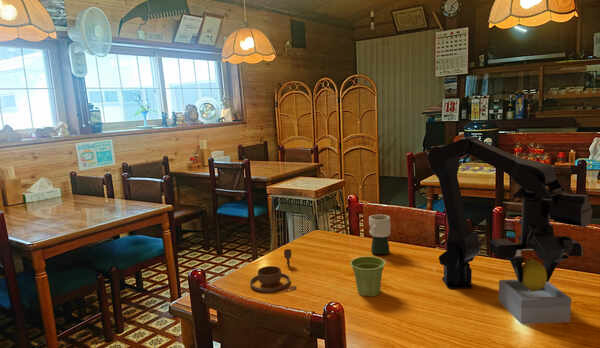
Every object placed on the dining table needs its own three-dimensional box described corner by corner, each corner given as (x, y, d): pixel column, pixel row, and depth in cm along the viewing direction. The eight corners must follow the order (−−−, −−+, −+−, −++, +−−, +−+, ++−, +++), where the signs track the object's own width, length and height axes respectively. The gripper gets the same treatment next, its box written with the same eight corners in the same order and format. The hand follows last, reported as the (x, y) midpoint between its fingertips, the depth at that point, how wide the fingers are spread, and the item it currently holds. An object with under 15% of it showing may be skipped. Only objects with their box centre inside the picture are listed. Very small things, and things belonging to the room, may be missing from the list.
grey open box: (520, 324, 93) (521, 300, 92) (498, 302, 104) (499, 280, 103) (569, 322, 92) (571, 298, 92) (542, 300, 103) (543, 278, 102)
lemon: (550, 297, 94) (551, 264, 93) (523, 296, 95) (525, 263, 94) (541, 287, 99) (542, 255, 98) (516, 286, 100) (517, 255, 99)
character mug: (376, 246, 148) (375, 212, 146) (395, 249, 144) (394, 214, 142) (364, 256, 139) (363, 220, 137) (384, 259, 135) (383, 222, 133)
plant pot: (365, 303, 106) (364, 271, 105) (345, 290, 115) (343, 260, 113) (393, 294, 111) (392, 263, 109) (371, 282, 119) (370, 253, 118)
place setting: (237, 283, 125) (235, 265, 124) (288, 264, 138) (287, 248, 137) (271, 301, 112) (269, 281, 111) (323, 279, 124) (323, 261, 123)
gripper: (509, 229, 87) (507, 298, 90) (600, 227, 86) (596, 296, 88) (489, 216, 98) (487, 277, 101) (570, 213, 97) (566, 275, 99)
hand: (533, 281), depth 97 cm, fingers open, 6 cm apart
